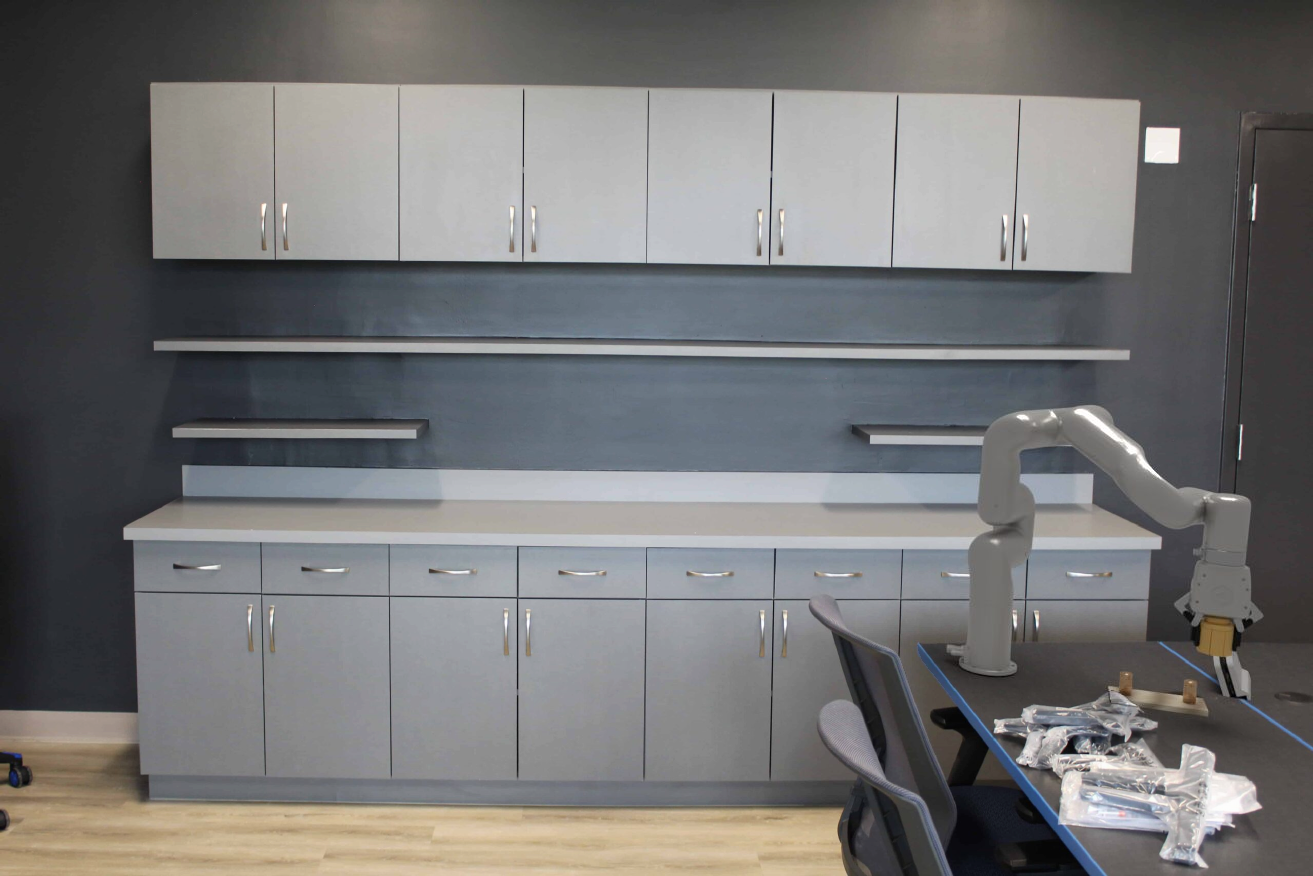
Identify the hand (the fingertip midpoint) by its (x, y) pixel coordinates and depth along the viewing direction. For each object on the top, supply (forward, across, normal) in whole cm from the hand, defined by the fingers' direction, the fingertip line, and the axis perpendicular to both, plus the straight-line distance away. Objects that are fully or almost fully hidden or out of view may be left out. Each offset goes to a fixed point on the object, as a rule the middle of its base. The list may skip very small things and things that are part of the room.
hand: (1214, 646), depth 195 cm
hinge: (+16, +8, +26) cm, 32 cm away
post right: (+15, -2, +8) cm, 17 cm away
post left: (+15, -14, +8) cm, 22 cm away
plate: (+16, -8, +8) cm, 19 cm away
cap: (+1, 0, 0) cm, 1 cm away
